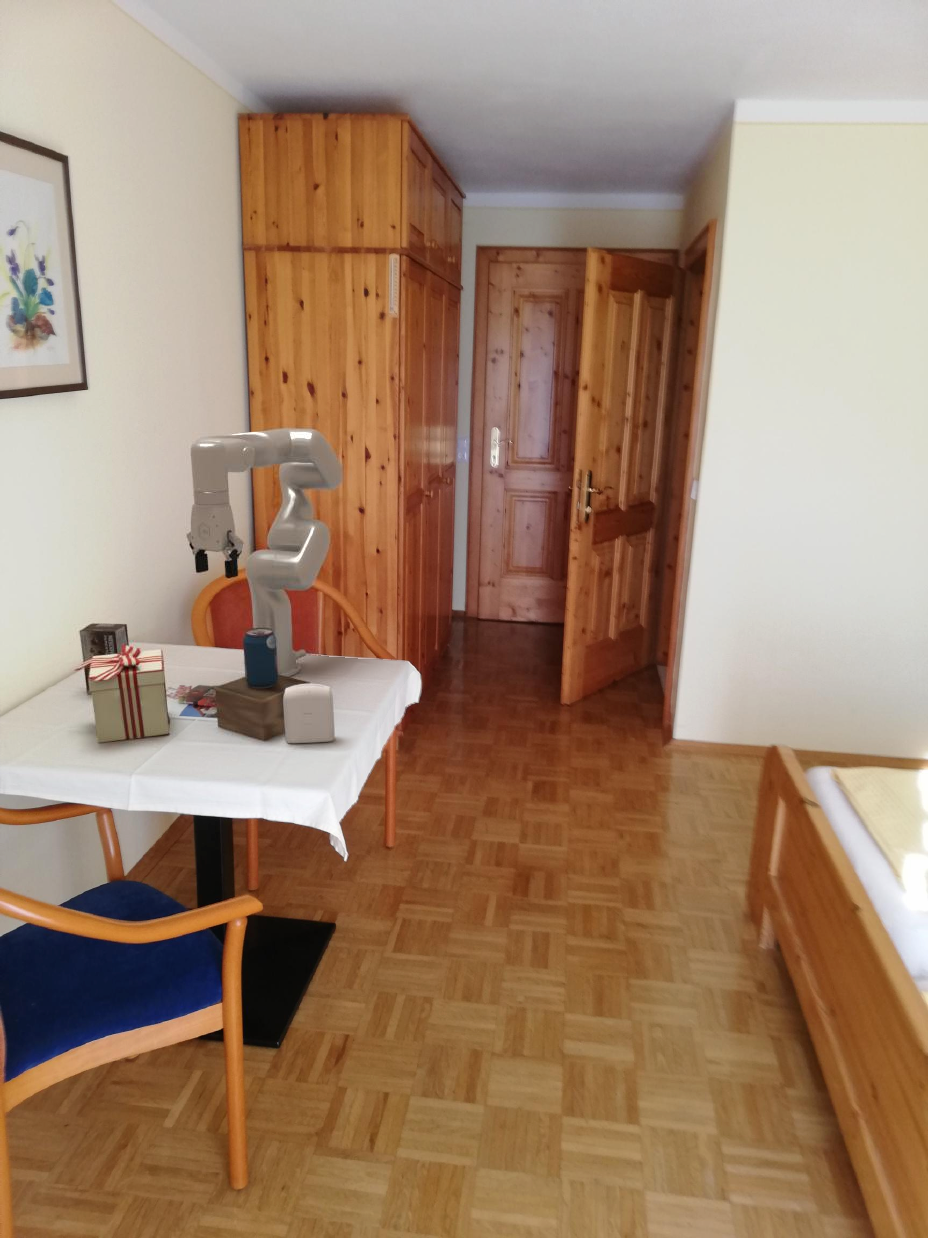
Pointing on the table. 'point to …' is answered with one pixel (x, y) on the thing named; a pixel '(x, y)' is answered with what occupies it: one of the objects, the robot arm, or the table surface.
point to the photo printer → (308, 713)
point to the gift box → (128, 694)
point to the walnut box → (253, 707)
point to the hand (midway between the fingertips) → (216, 574)
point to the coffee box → (101, 642)
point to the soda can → (260, 658)
